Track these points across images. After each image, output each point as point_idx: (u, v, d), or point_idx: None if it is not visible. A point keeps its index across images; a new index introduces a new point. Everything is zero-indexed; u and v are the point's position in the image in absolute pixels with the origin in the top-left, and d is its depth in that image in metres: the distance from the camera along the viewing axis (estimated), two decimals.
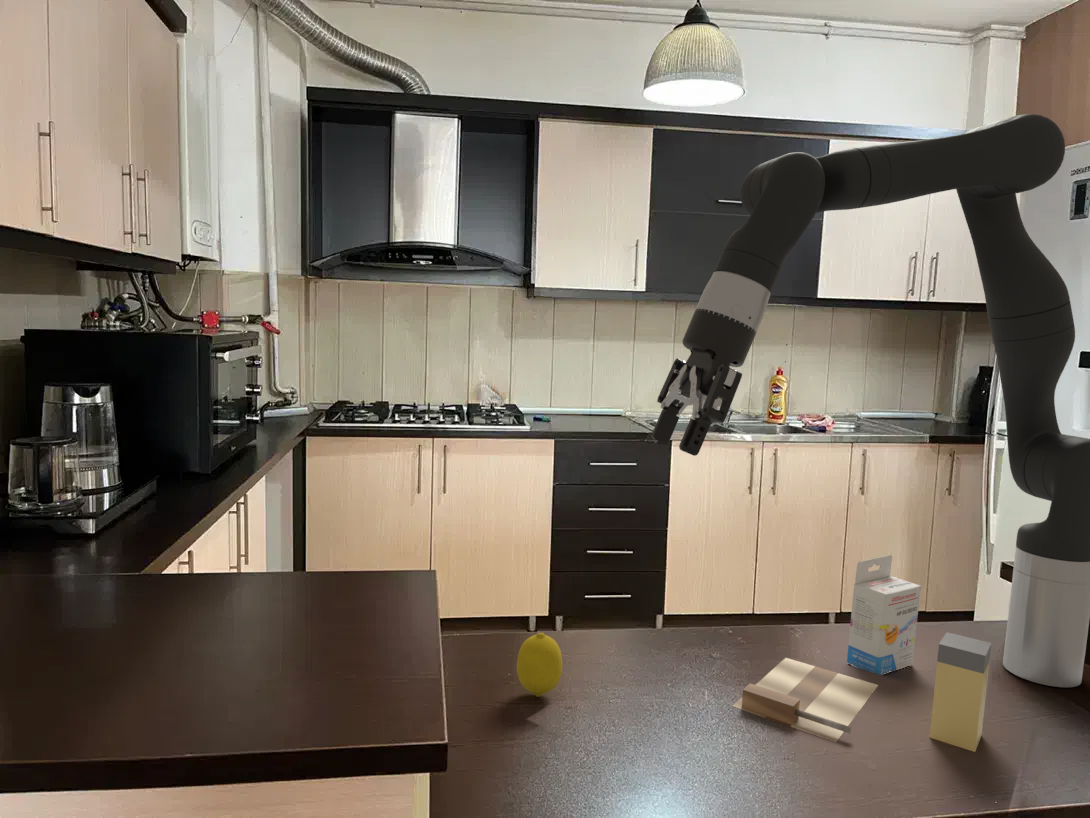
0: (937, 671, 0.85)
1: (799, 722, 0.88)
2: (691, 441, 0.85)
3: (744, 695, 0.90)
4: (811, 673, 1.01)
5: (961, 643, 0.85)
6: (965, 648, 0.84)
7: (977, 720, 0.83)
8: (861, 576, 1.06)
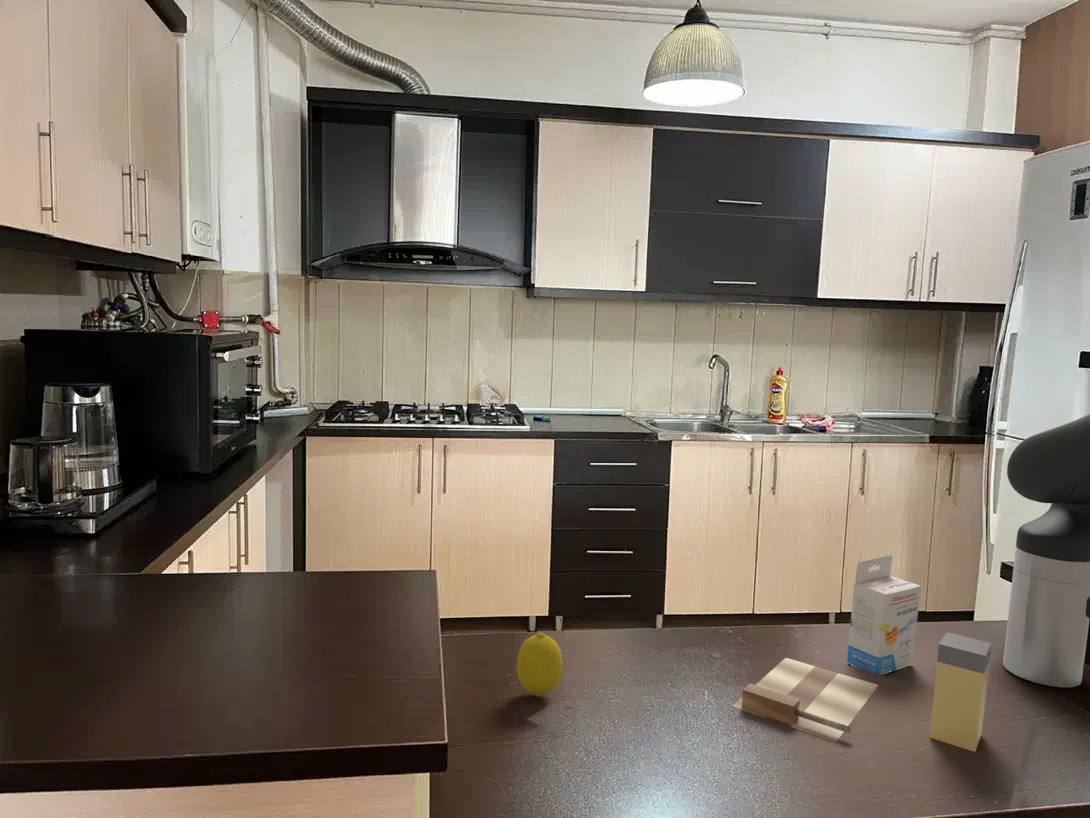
0: (937, 671, 0.85)
1: (799, 722, 0.88)
2: None
3: (744, 695, 0.90)
4: (811, 673, 1.01)
5: (961, 643, 0.85)
6: (965, 648, 0.84)
7: (977, 720, 0.83)
8: (861, 576, 1.06)
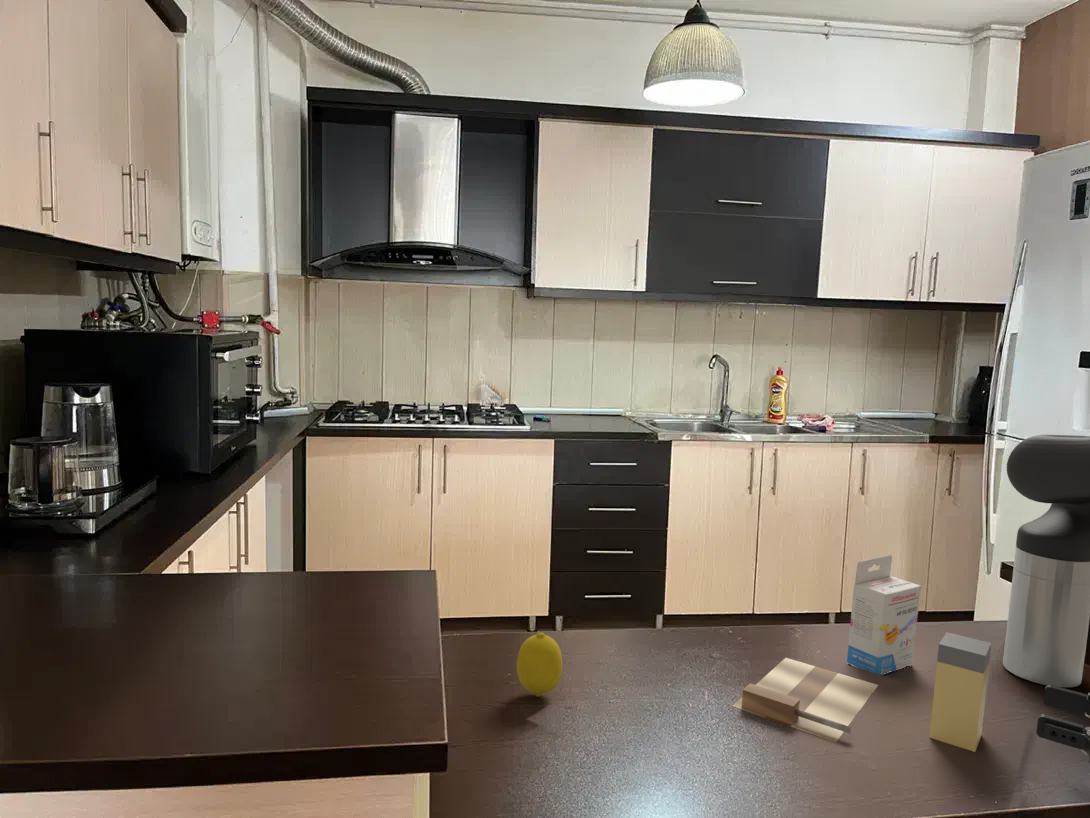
0: (937, 671, 0.85)
1: (799, 722, 0.88)
2: None
3: (744, 695, 0.90)
4: (811, 673, 1.01)
5: (961, 643, 0.85)
6: (965, 648, 0.84)
7: (977, 720, 0.83)
8: (861, 576, 1.06)
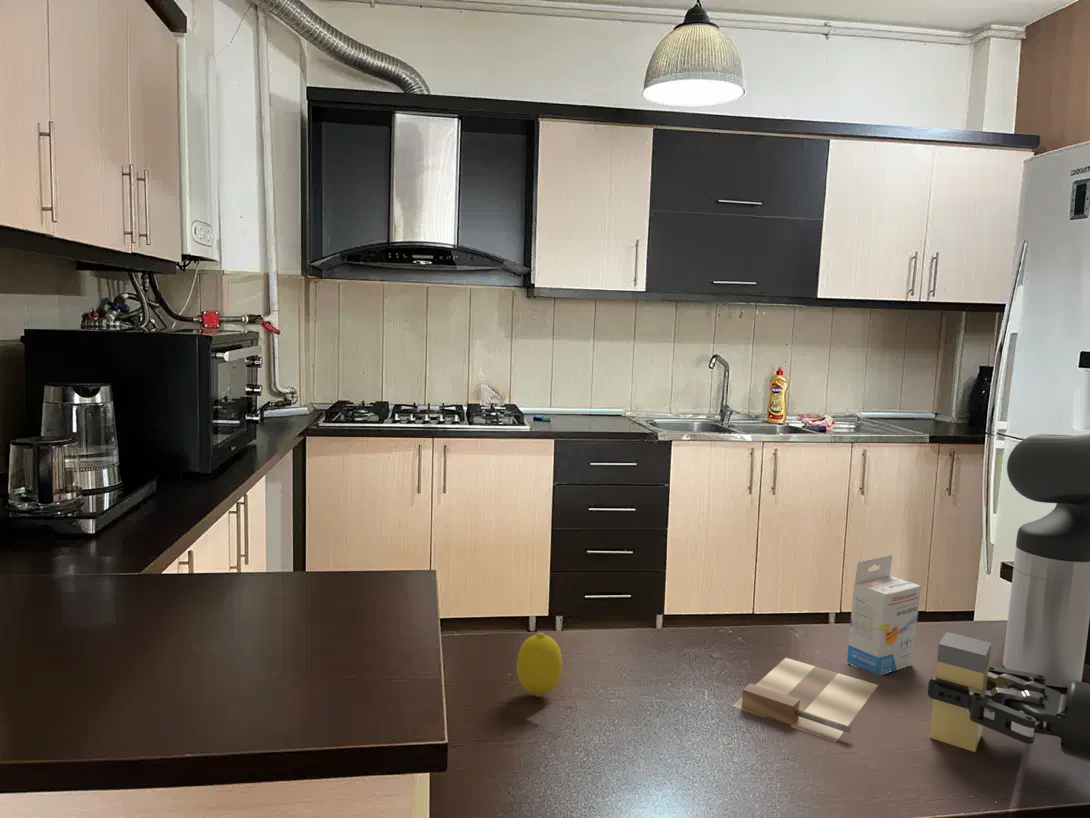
0: (937, 671, 0.85)
1: (799, 722, 0.88)
2: None
3: (744, 695, 0.90)
4: (811, 673, 1.01)
5: (961, 643, 0.85)
6: (965, 648, 0.84)
7: None
8: (861, 576, 1.06)
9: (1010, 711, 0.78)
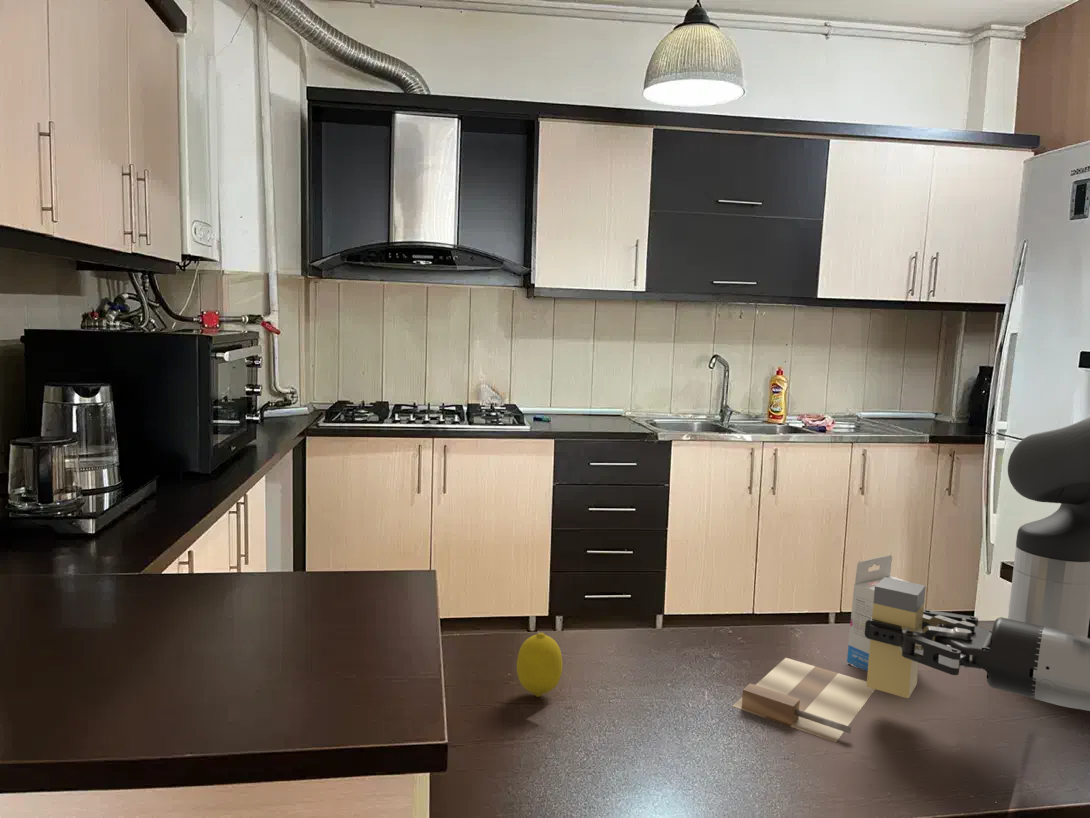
0: (873, 612, 0.88)
1: (799, 722, 0.88)
2: None
3: (744, 695, 0.90)
4: (811, 673, 1.01)
5: (896, 586, 0.88)
6: (899, 589, 0.87)
7: None
8: (861, 576, 1.06)
9: (938, 645, 0.81)
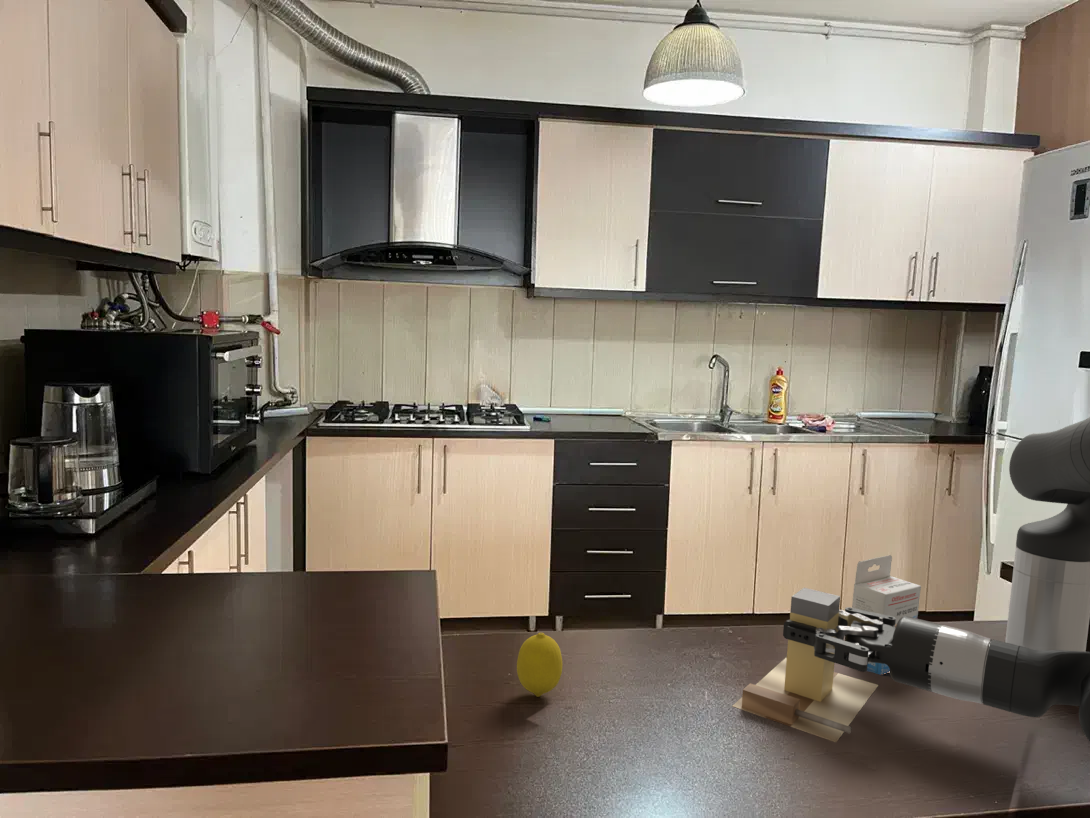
0: None
1: (799, 722, 0.88)
2: None
3: (744, 695, 0.90)
4: None
5: (812, 596, 0.94)
6: (813, 600, 0.93)
7: (823, 664, 0.92)
8: (861, 576, 1.06)
9: (848, 644, 0.86)
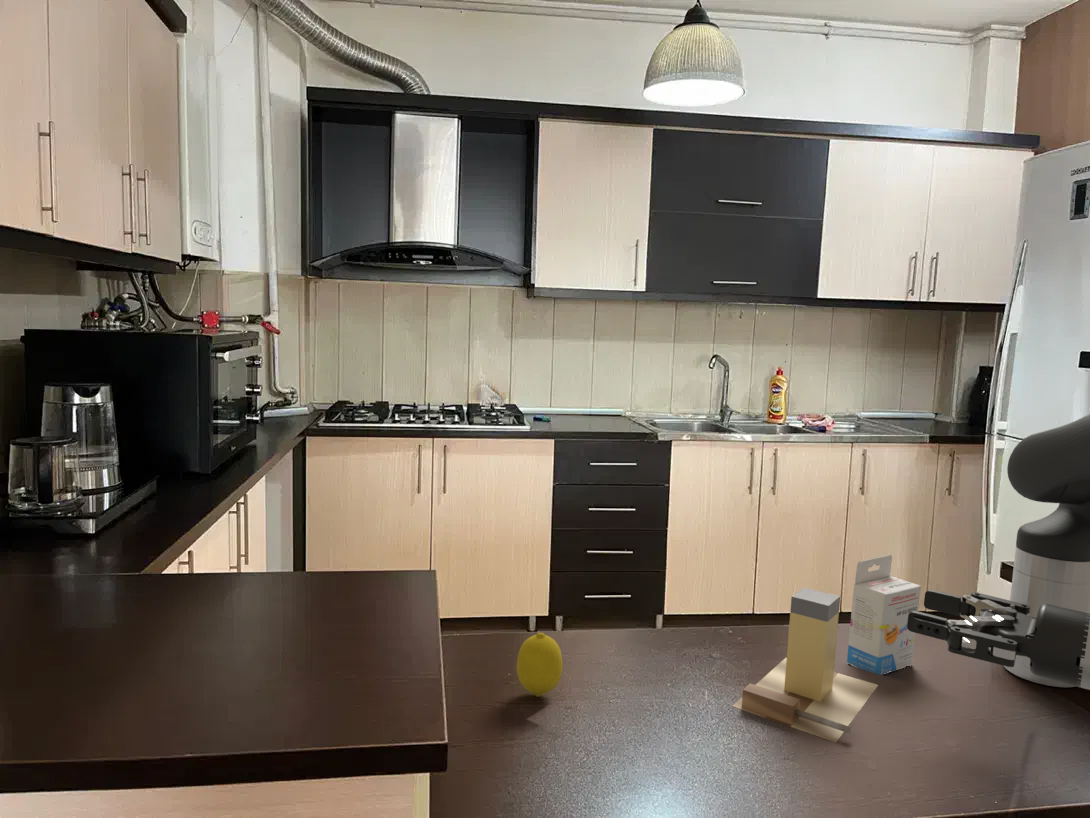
0: (790, 621, 0.94)
1: (799, 722, 0.88)
2: None
3: (744, 695, 0.90)
4: None
5: (812, 596, 0.94)
6: (813, 600, 0.93)
7: (823, 664, 0.92)
8: (861, 576, 1.06)
9: (992, 637, 0.78)
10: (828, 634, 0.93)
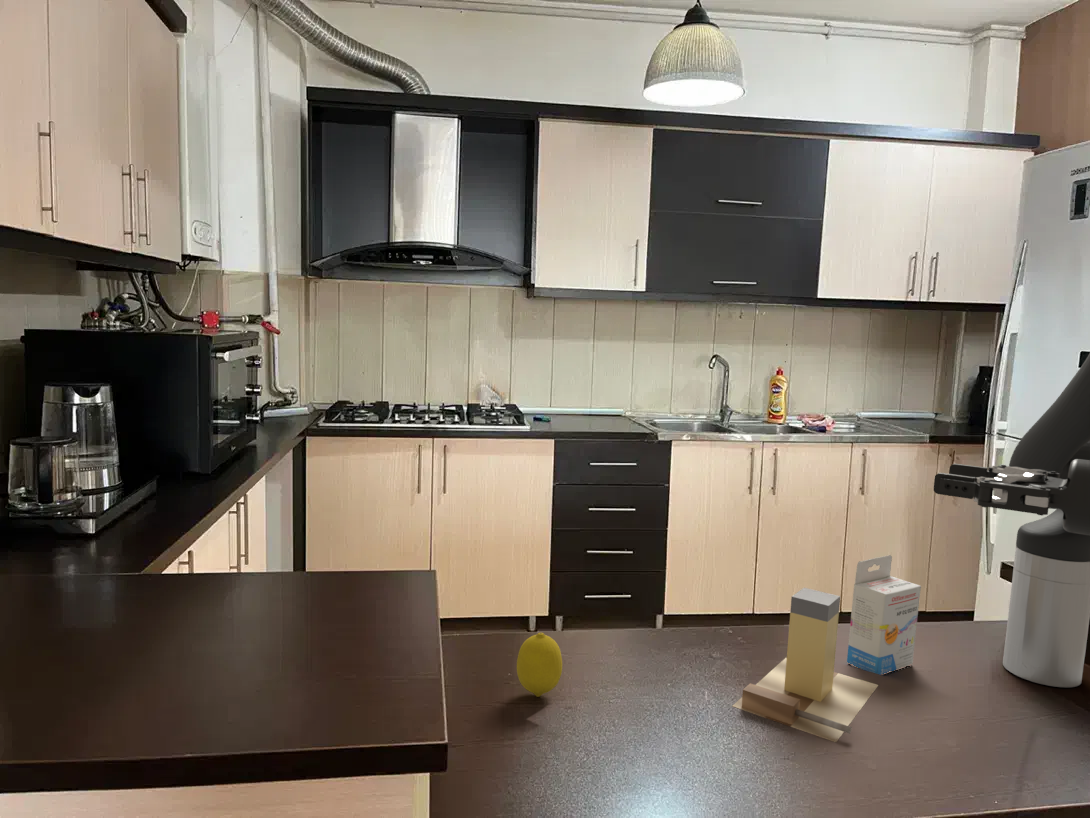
0: (790, 621, 0.94)
1: (799, 722, 0.88)
2: None
3: (744, 695, 0.90)
4: None
5: (812, 596, 0.94)
6: (813, 600, 0.93)
7: (823, 664, 0.92)
8: (861, 576, 1.06)
9: (1023, 486, 0.75)
10: (828, 634, 0.93)
